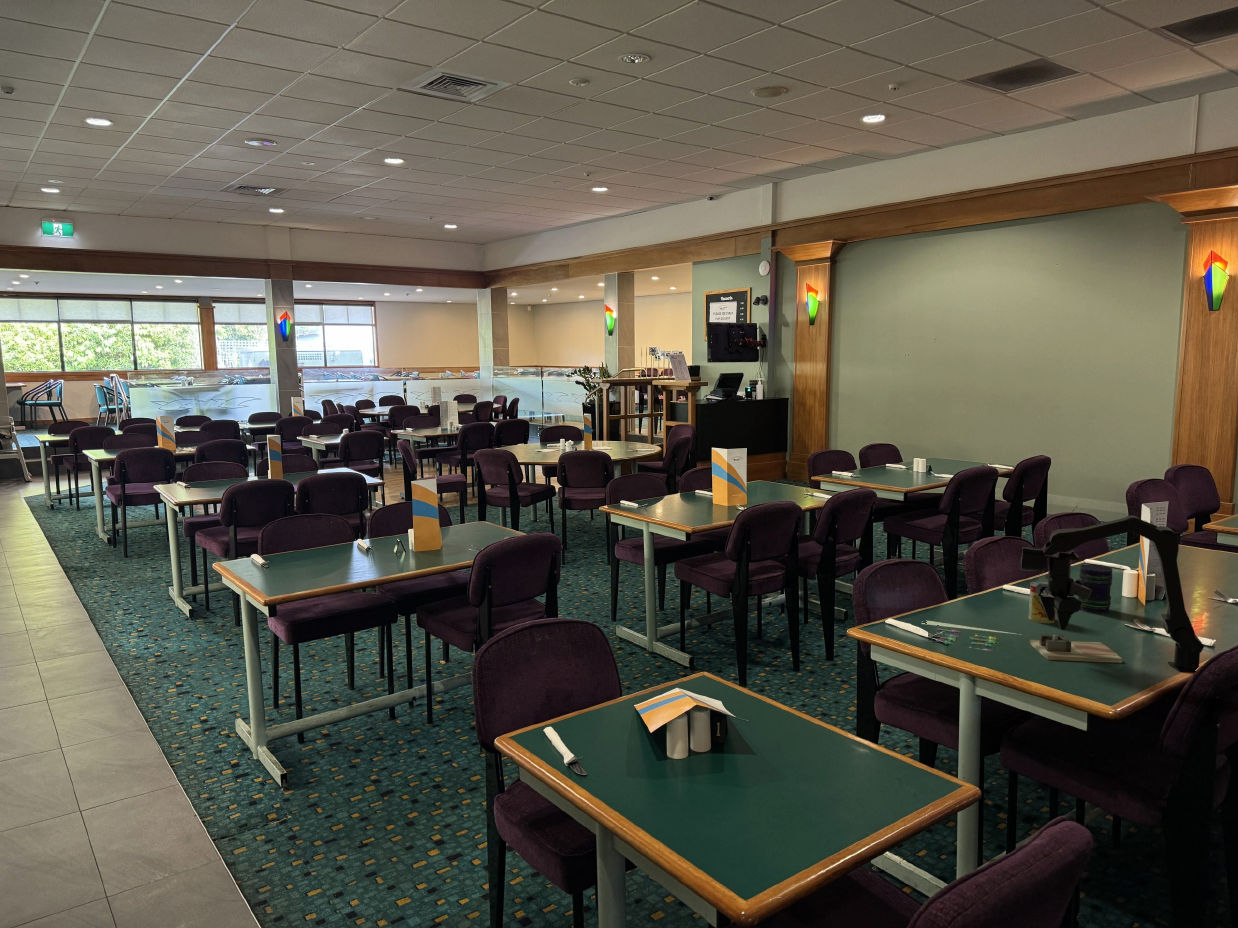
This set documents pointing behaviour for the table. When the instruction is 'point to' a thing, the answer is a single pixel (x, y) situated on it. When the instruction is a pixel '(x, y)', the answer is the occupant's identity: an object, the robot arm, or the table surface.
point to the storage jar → (1096, 588)
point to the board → (1080, 652)
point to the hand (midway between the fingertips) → (1056, 624)
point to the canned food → (1037, 606)
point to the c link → (1055, 643)
